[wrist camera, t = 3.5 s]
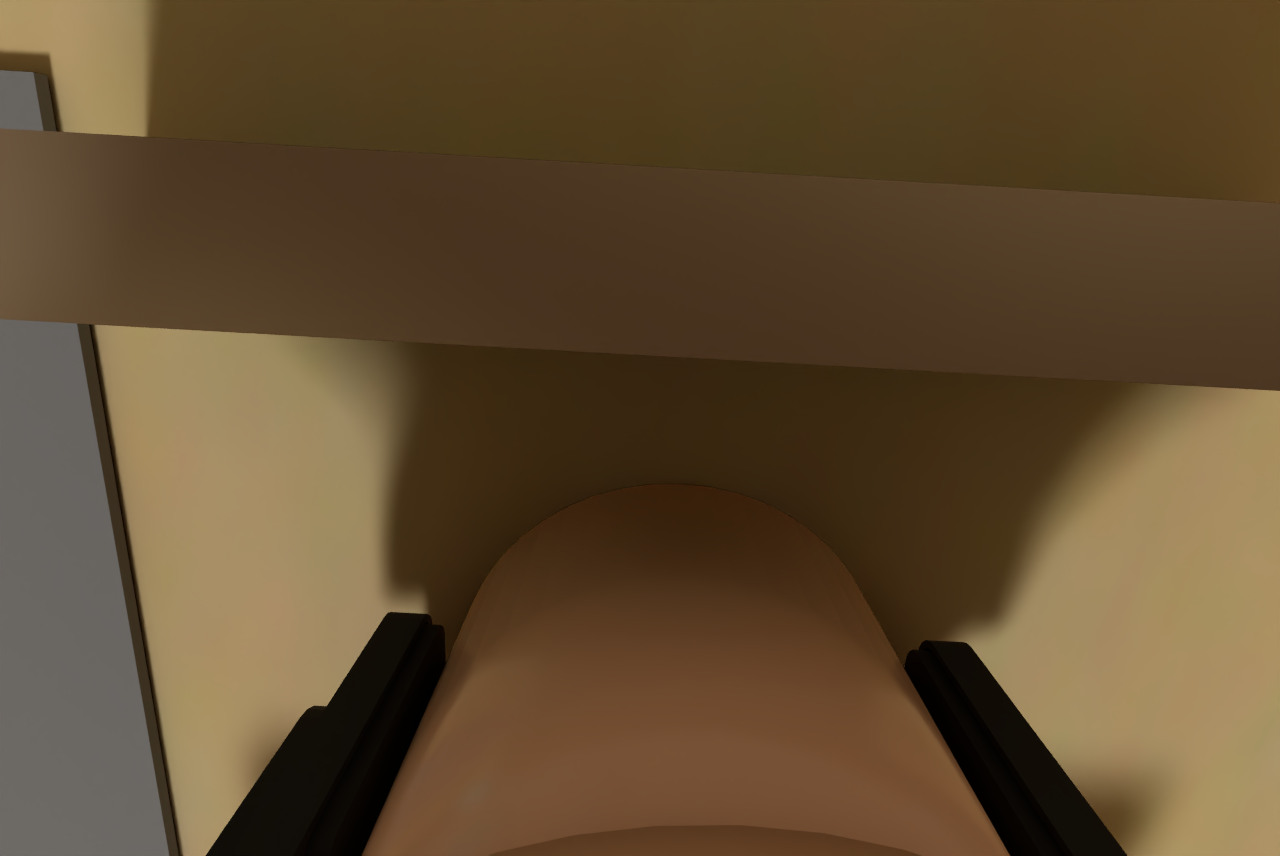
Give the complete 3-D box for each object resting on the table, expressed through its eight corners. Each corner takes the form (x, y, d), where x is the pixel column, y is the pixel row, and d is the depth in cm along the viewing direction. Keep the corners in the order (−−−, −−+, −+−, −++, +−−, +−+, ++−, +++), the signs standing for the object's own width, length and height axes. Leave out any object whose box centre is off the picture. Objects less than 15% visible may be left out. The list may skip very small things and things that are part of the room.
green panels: (125, 158, 9) (-394, 104, 4) (1278, 226, 9) (1891, 239, 5) (245, 992, 13) (39, 1397, 9) (1034, 1031, 13) (1233, 1446, 9)
